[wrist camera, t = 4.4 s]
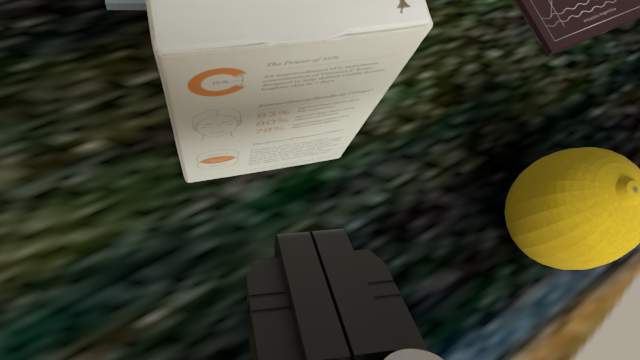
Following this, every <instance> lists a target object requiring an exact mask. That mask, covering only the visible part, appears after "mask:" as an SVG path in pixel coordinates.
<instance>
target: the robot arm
mask: <svg viewBox="0 0 640 360" xmlns="http://www.w3.org/2000/svg"><path fill="white" fill-rule="evenodd" d="M247 310H248V333H249V341H250V349H251V356H252V360H443V359H442V358H440V357H439V356H437V355H435V354H433V353H430V352H429V351H428V349H427V347H426V345H425V343H424V341H423V339H422V337H421V335H420V333H419V331H418V329H417V327H416V325H415V323H414V321H413V319H412V317H411V315H410V313H409V311H408V309H407V307H406V305H405V303H404V301H403V299H402V297H400V293H399V291H398V289H397V287H396V284H395V283H393V278H392V276H391V274H390V272H389V270H388V268H387V266H386V264H385V263H384V262H383V261H382V260H381V259H380V258H378V257H377V256H376V255H375V254H374V253H372V252H371V251H370V250H369V249H366V250H355V251H353V248H352V246H351V244H350V241H349V239H348V237H347V234H346V232H345V230H344V229H335V230H323V231H311V232H310V233H309V232H301V233H289V234H277V235H275V258H271V259H261V260H254V262H253V264H252V266H251V268H250V271H249V273H248V275H247Z"/></svg>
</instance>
